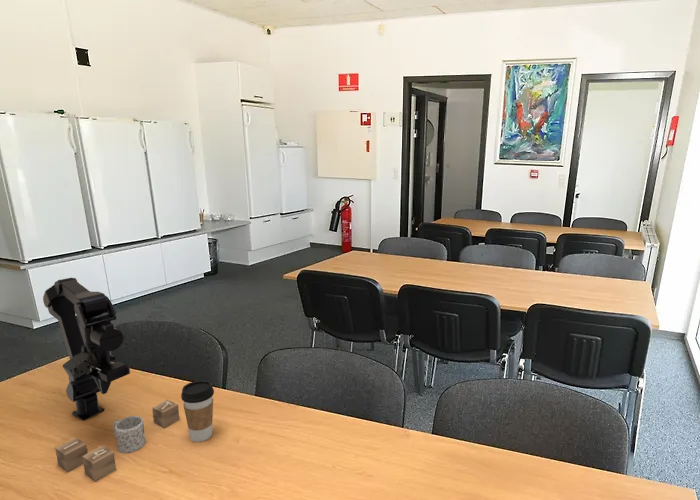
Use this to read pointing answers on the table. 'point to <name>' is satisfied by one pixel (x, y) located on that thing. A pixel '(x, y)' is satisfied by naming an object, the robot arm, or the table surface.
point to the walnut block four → (99, 463)
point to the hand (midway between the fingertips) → (104, 393)
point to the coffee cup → (198, 409)
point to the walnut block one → (71, 454)
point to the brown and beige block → (165, 413)
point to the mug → (129, 434)
